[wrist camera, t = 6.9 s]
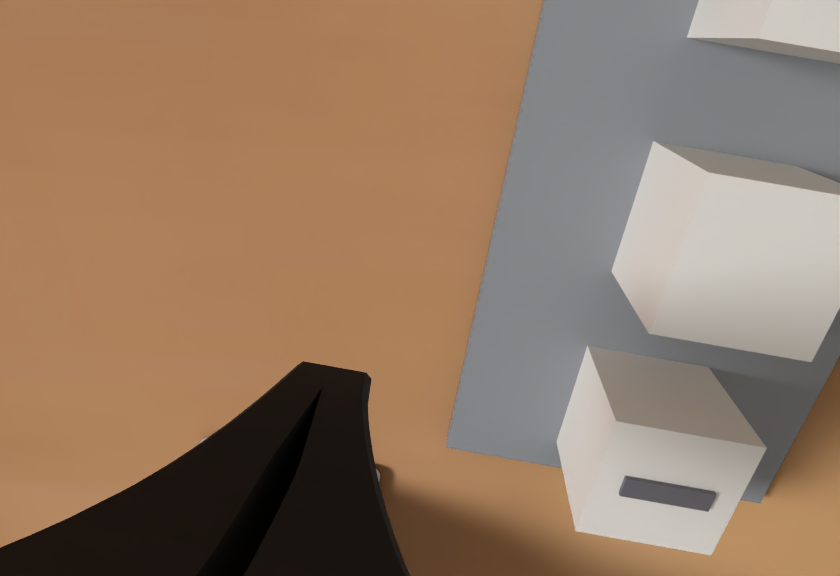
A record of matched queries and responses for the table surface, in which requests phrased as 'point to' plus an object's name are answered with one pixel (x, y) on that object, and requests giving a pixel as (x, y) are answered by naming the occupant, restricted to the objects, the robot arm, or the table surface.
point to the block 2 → (772, 26)
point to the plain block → (732, 252)
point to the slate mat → (609, 211)
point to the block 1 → (654, 451)
